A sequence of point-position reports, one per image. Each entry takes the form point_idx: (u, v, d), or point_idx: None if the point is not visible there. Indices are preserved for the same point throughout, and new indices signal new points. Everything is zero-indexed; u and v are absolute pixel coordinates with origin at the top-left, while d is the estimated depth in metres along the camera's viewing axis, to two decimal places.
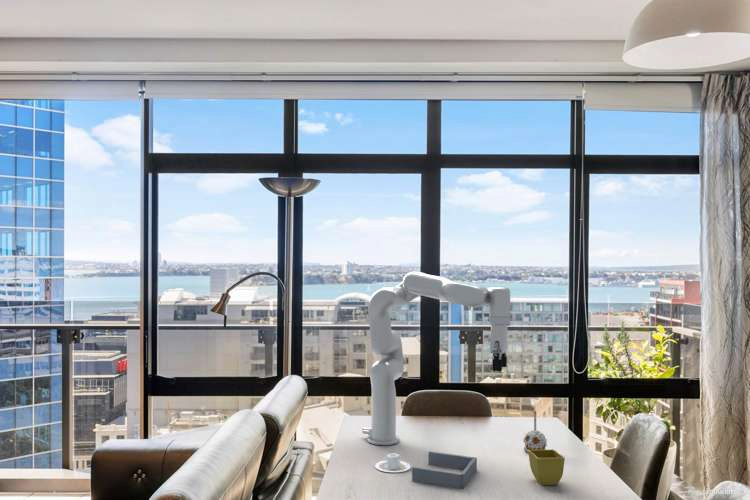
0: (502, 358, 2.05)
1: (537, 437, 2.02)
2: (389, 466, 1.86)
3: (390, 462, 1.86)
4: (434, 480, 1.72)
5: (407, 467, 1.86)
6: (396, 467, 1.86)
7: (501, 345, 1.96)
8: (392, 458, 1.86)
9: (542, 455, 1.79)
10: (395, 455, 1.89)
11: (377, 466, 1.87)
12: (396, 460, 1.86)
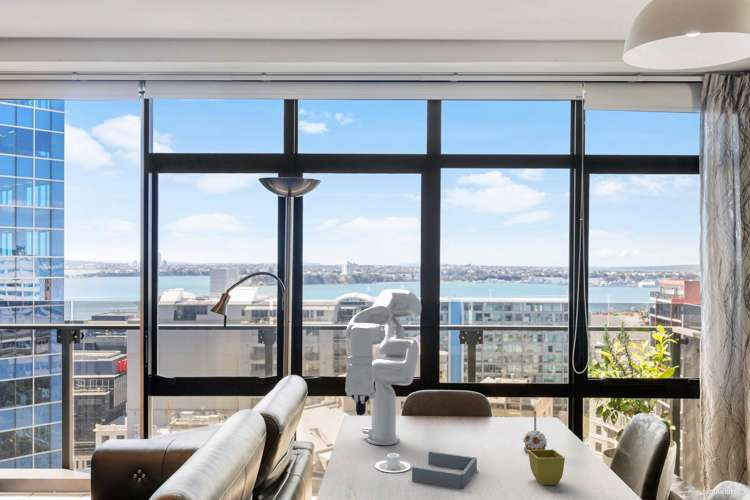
0: None
1: (537, 437, 2.02)
2: (389, 466, 1.86)
3: (390, 462, 1.86)
4: (434, 480, 1.72)
5: (407, 467, 1.86)
6: (396, 467, 1.86)
7: (375, 385, 1.93)
8: (392, 458, 1.86)
9: (542, 455, 1.79)
10: (395, 455, 1.89)
11: (377, 466, 1.87)
12: (396, 460, 1.86)
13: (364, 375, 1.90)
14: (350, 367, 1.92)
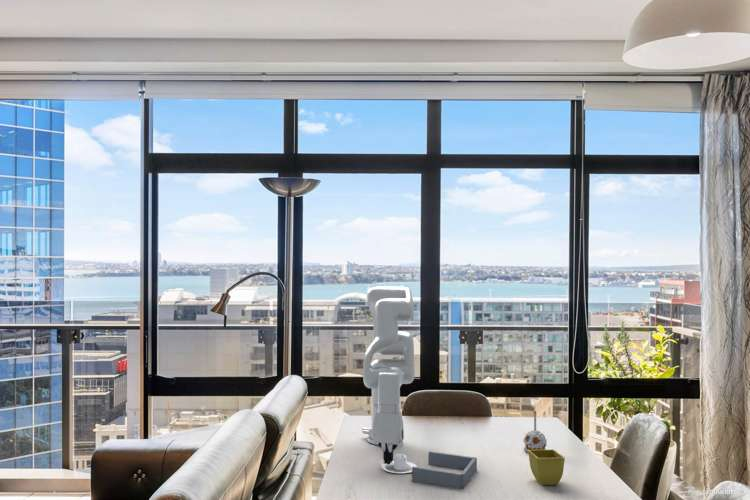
0: None
1: (537, 437, 2.02)
2: (395, 467, 1.85)
3: (396, 463, 1.85)
4: (434, 480, 1.72)
5: None
6: (403, 468, 1.85)
7: (403, 432, 1.88)
8: (398, 459, 1.84)
9: (542, 455, 1.79)
10: (402, 456, 1.88)
11: (383, 467, 1.86)
12: (403, 461, 1.85)
13: (392, 423, 1.85)
14: (377, 414, 1.88)
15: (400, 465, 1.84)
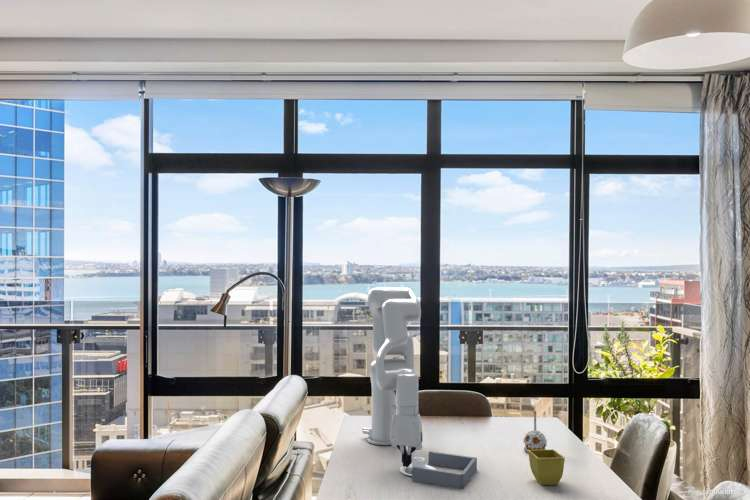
0: None
1: (537, 437, 2.02)
2: None
3: (415, 466, 1.82)
4: (434, 480, 1.72)
5: None
6: None
7: (422, 435, 1.85)
8: (417, 462, 1.82)
9: (542, 455, 1.79)
10: (420, 459, 1.85)
11: (402, 469, 1.83)
12: (421, 464, 1.82)
13: (411, 426, 1.83)
14: (395, 417, 1.85)
15: None
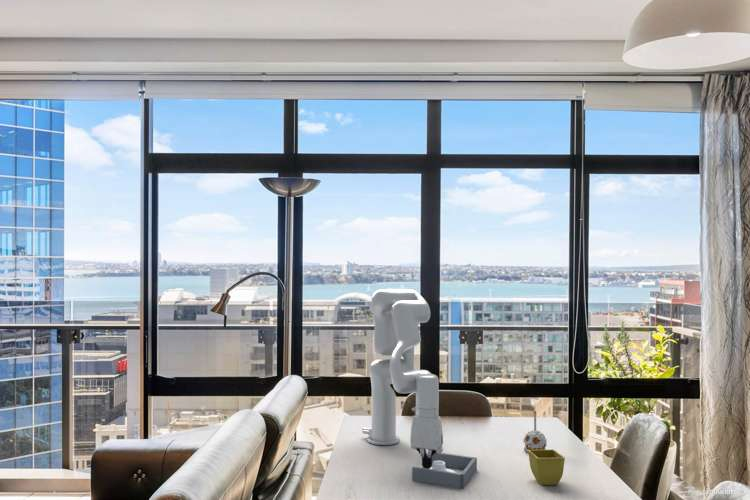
0: None
1: (537, 437, 2.02)
2: None
3: (435, 469, 1.79)
4: (434, 480, 1.72)
5: None
6: None
7: (442, 437, 1.83)
8: (437, 465, 1.79)
9: (542, 455, 1.79)
10: (441, 462, 1.82)
11: None
12: (441, 468, 1.79)
13: (431, 428, 1.80)
14: (415, 419, 1.82)
15: None
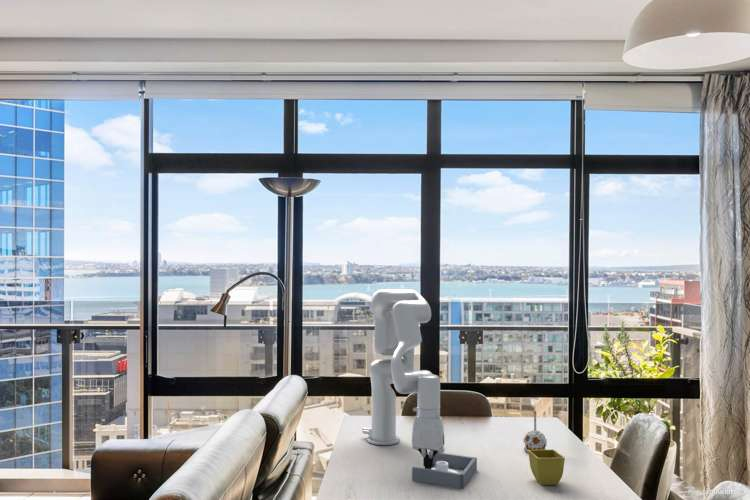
0: None
1: (537, 437, 2.02)
2: None
3: None
4: (434, 480, 1.72)
5: None
6: None
7: None
8: (440, 466, 1.78)
9: (542, 455, 1.79)
10: (444, 463, 1.81)
11: None
12: (444, 468, 1.78)
13: (433, 428, 1.80)
14: (417, 419, 1.82)
15: None
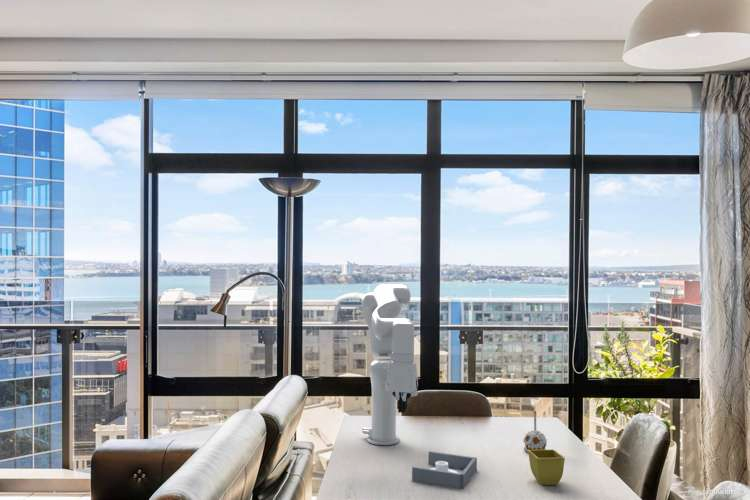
0: None
1: (537, 437, 2.02)
2: None
3: None
4: (434, 480, 1.72)
5: None
6: None
7: (417, 382, 1.89)
8: (440, 466, 1.78)
9: (542, 455, 1.79)
10: (444, 463, 1.81)
11: None
12: (444, 468, 1.78)
13: (406, 372, 1.86)
14: (391, 364, 1.88)
15: None
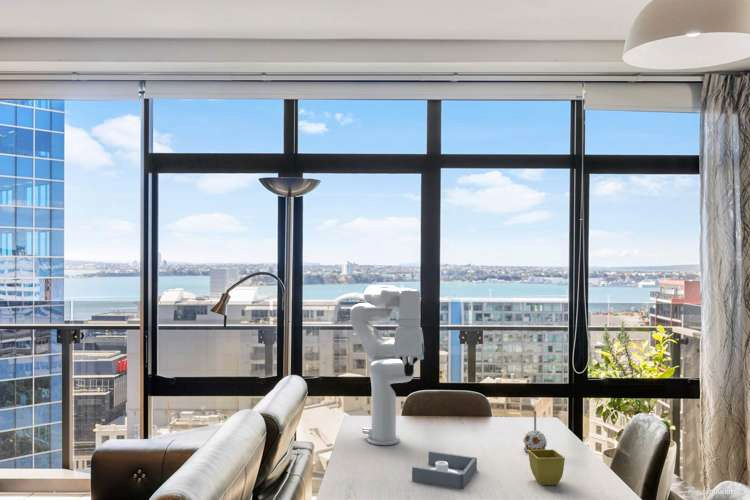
0: None
1: (537, 437, 2.02)
2: None
3: None
4: (434, 480, 1.72)
5: None
6: None
7: (423, 346, 1.97)
8: (440, 466, 1.78)
9: (542, 455, 1.79)
10: (444, 463, 1.81)
11: None
12: (444, 468, 1.78)
13: (413, 337, 1.94)
14: (398, 329, 1.97)
15: None
